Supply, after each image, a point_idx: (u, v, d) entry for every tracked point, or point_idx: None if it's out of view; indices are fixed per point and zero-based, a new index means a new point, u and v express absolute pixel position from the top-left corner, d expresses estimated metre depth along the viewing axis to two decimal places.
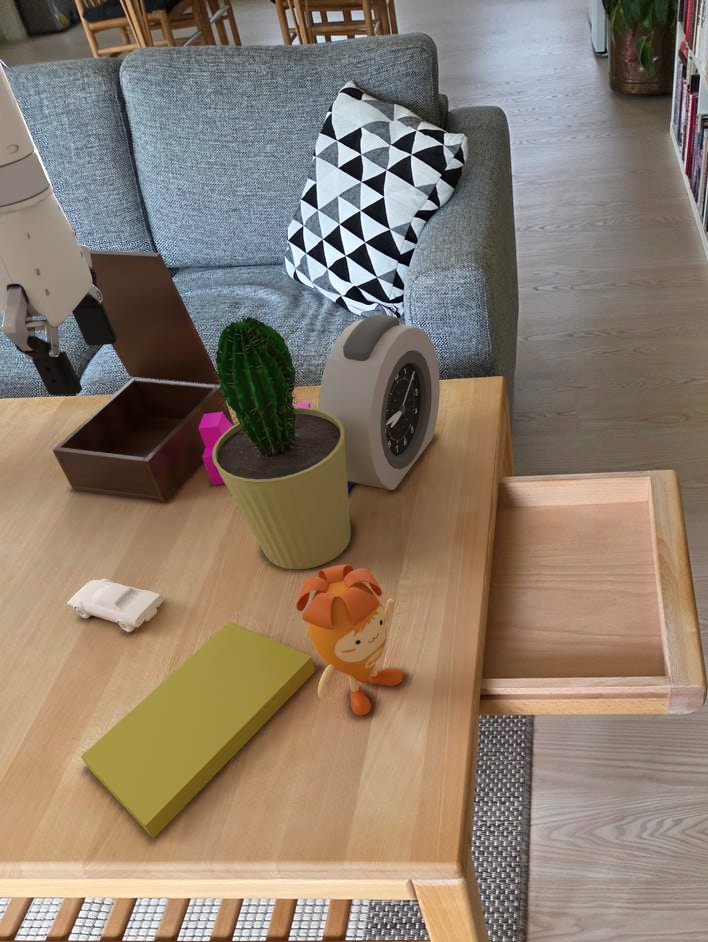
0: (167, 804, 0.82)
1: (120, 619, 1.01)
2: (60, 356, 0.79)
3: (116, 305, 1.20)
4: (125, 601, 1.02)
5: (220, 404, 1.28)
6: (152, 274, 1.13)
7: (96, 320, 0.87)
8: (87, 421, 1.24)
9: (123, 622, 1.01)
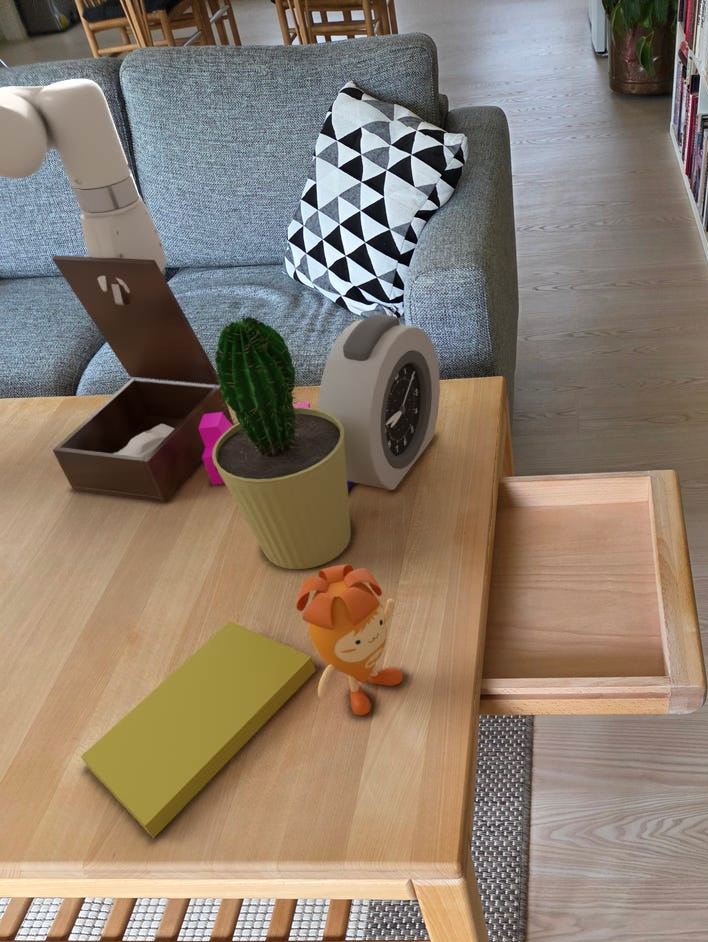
0: (167, 804, 0.82)
1: None
2: None
3: (113, 309, 1.19)
4: (155, 436, 1.26)
5: (220, 404, 1.28)
6: (148, 280, 1.13)
7: None
8: (87, 421, 1.24)
9: None
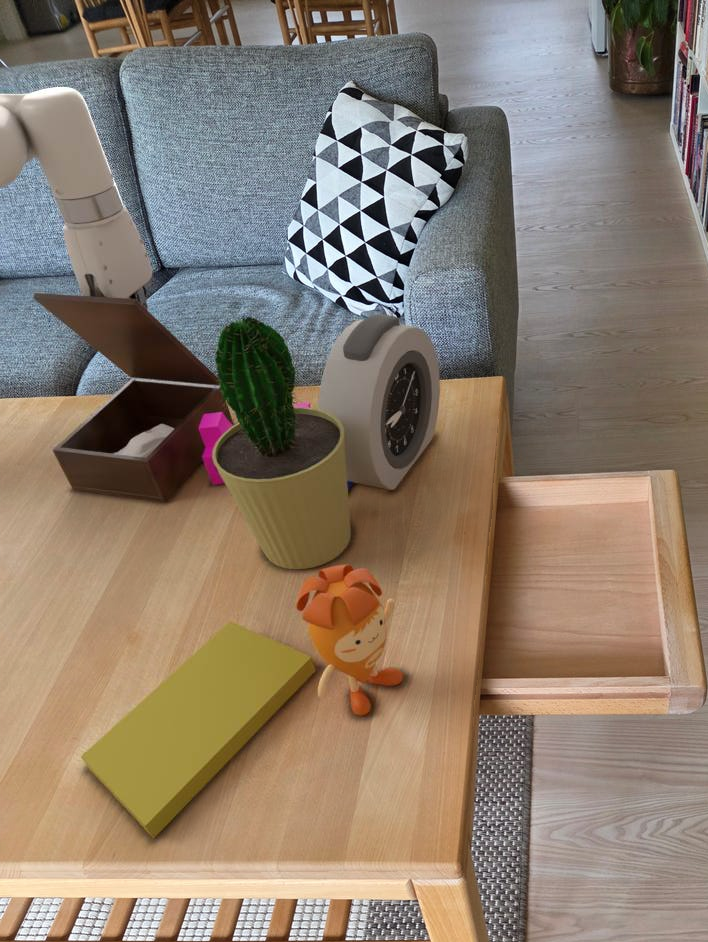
0: (167, 804, 0.82)
1: None
2: None
3: (103, 333, 1.18)
4: (155, 436, 1.26)
5: (220, 404, 1.28)
6: (132, 315, 1.11)
7: None
8: (87, 421, 1.24)
9: None
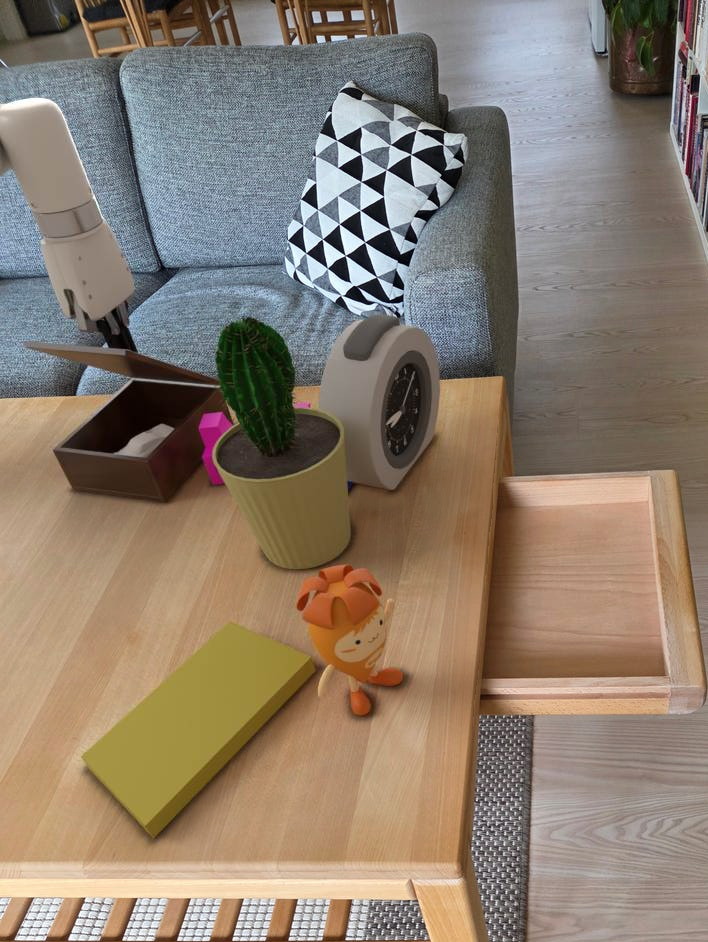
0: (167, 804, 0.82)
1: None
2: (120, 334, 1.16)
3: (98, 362, 1.18)
4: (155, 436, 1.26)
5: (220, 404, 1.28)
6: (125, 359, 1.11)
7: None
8: (87, 421, 1.24)
9: None
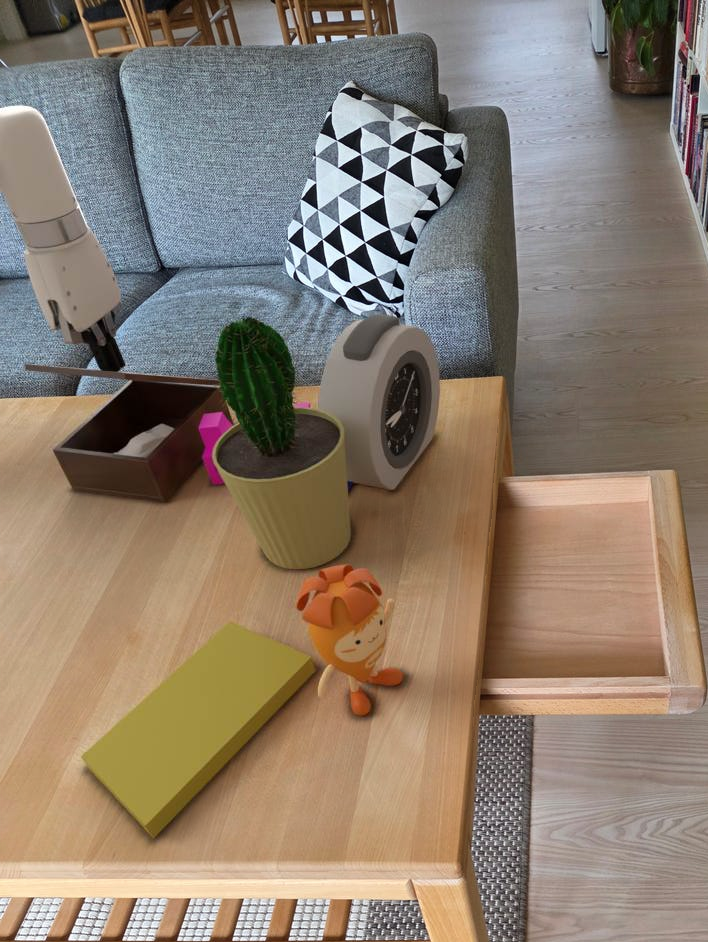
0: (167, 804, 0.82)
1: None
2: (106, 345, 1.14)
3: None
4: (155, 436, 1.26)
5: (220, 404, 1.28)
6: None
7: None
8: (87, 421, 1.24)
9: None
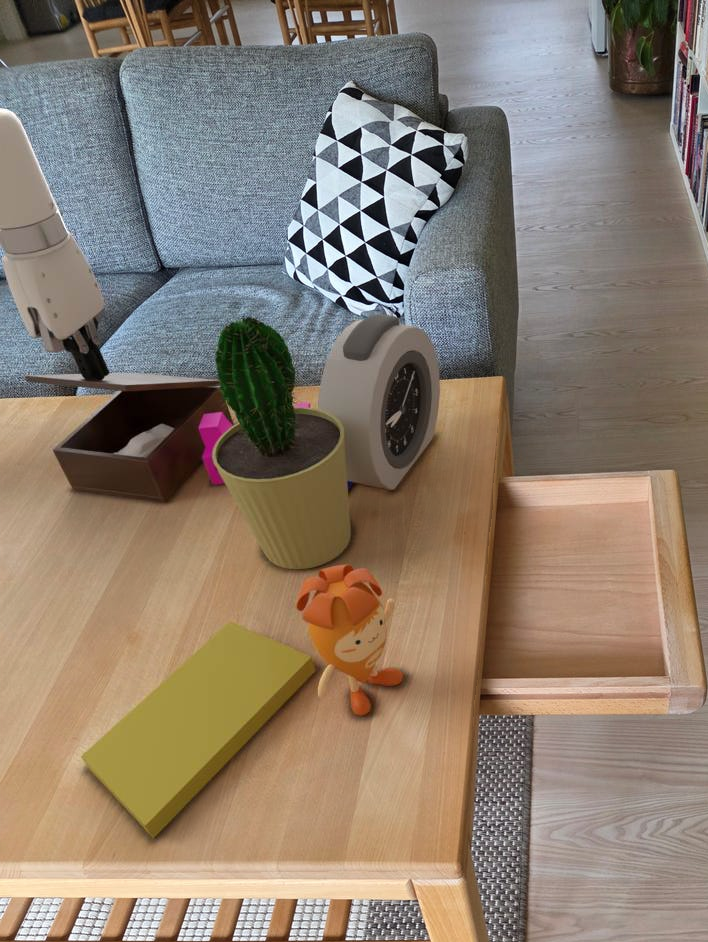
0: (167, 804, 0.82)
1: None
2: (89, 353, 1.11)
3: None
4: (155, 436, 1.26)
5: (220, 404, 1.28)
6: None
7: None
8: (87, 421, 1.24)
9: None
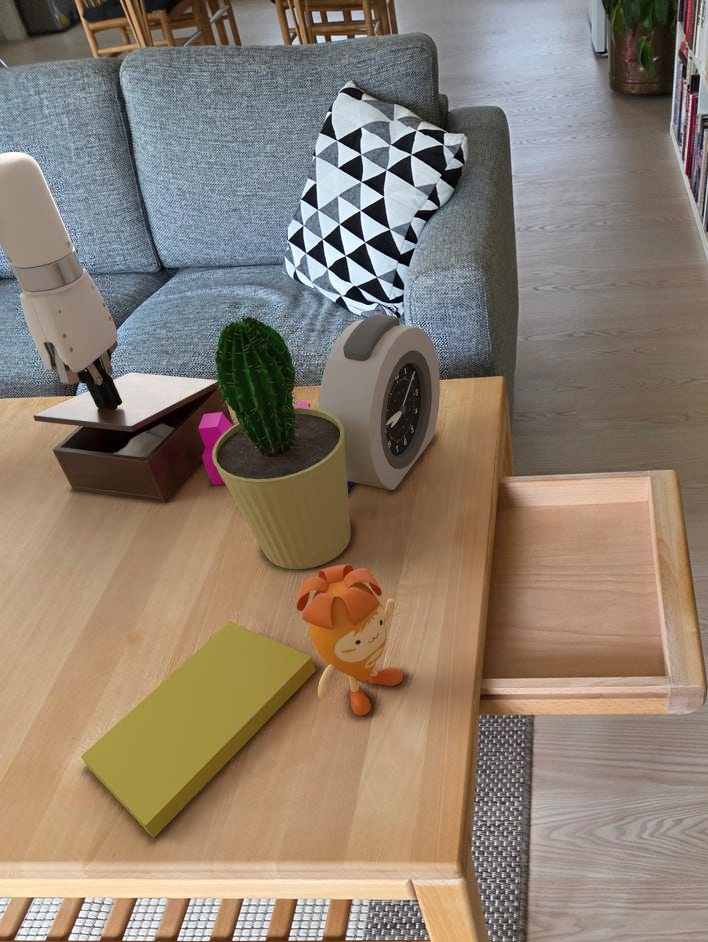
0: (167, 804, 0.82)
1: None
2: (102, 384, 1.14)
3: None
4: (155, 436, 1.26)
5: (220, 404, 1.28)
6: None
7: None
8: None
9: None
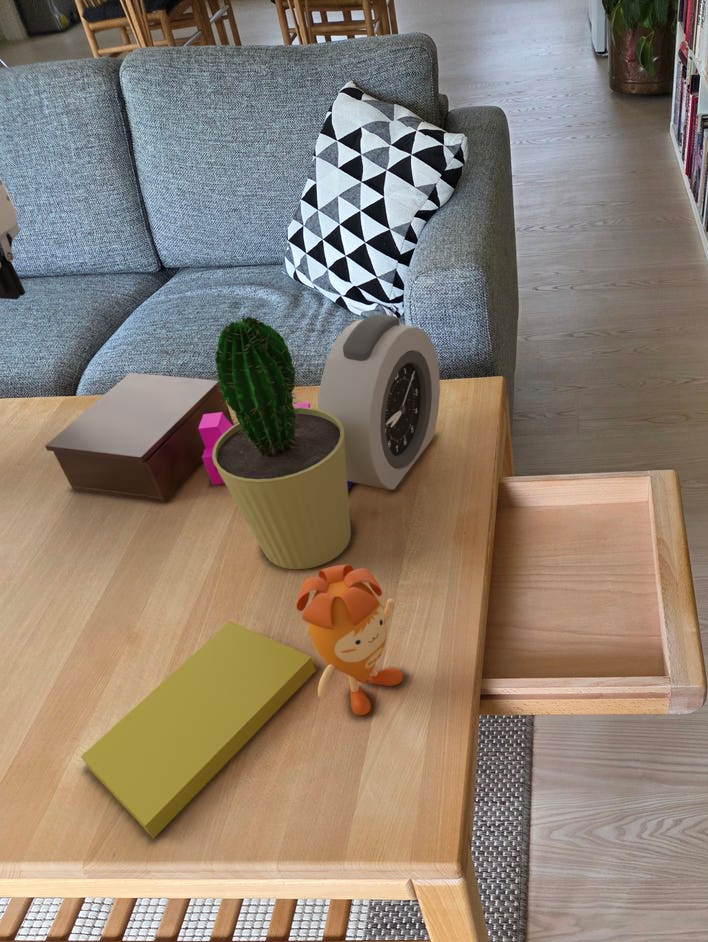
0: (167, 804, 0.82)
1: None
2: (1, 269, 1.08)
3: None
4: None
5: (220, 404, 1.28)
6: None
7: None
8: None
9: None
